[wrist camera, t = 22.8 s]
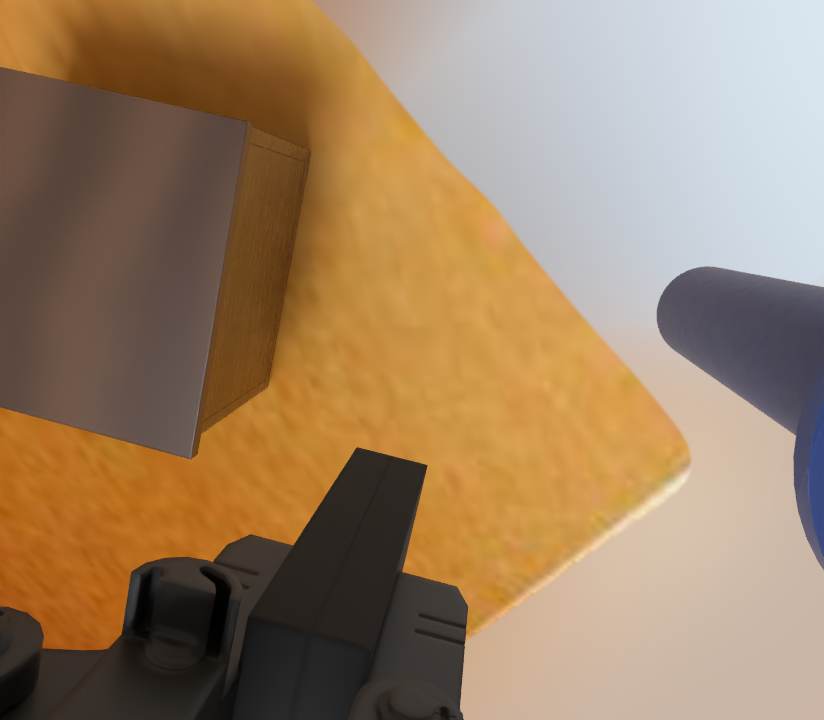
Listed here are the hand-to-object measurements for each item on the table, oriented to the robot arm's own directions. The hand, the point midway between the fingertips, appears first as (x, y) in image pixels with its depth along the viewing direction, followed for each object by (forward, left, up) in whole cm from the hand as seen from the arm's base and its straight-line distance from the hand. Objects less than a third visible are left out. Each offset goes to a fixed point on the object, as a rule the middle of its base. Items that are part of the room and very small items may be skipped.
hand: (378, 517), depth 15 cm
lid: (+20, 0, -20) cm, 29 cm away
